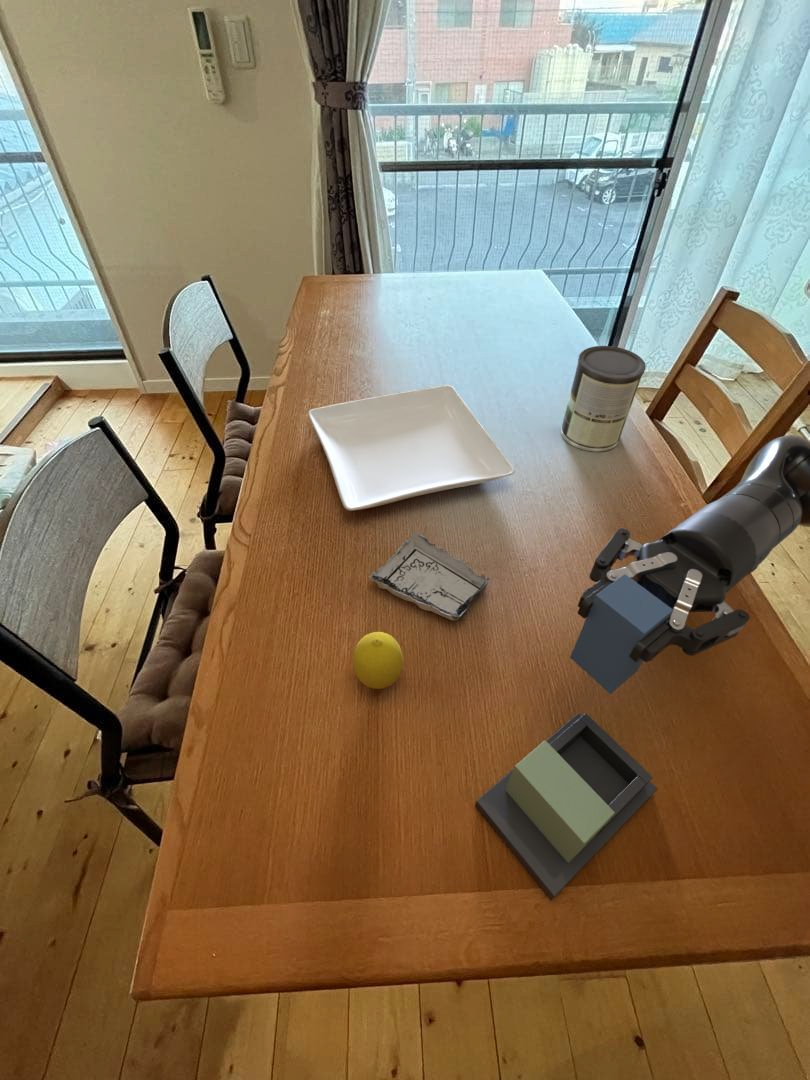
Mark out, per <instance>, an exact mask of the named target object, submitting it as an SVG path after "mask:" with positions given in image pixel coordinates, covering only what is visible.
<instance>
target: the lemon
mask: <svg viewBox="0 0 810 1080" xmlns="http://www.w3.org/2000/svg"><path fill="white" fill-rule="evenodd" d="M352 655H353V656H352V665H353V666H352V667H353V671H354V673H355V675H356V678H357V679H358V680H359V681H360V683H362V684H363V685H364V686H365V687H368V688H370V689H374V690H383V689H385V688H388V687H390V686H392V685H393V684H395V682H396V681H397V680H398V679H399V677H400V676H401V673H402V671H403V666H404V655H403V651H402V648H401V646H400V644H399V643H398V641H397V640H396V638H395V637H393V636H392V635H391V634H389V633H387V632H382V631H373V632H370V633H367V634H365V635H364V636H363V637H361V638H360V640H359V641H358V642H357V644H356V646H355V647H354V650H353V654H352Z"/></svg>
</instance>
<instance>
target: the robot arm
mask: <svg viewBox="0 0 810 1080" xmlns="http://www.w3.org/2000/svg"><path fill="white" fill-rule="evenodd" d="M798 526H800V527H804V528H810V440H808V439H806V438H805V437H802V436H799V435H783V436H778V437H776V438H773V439H771V440H770V441H769V442H767V443H766V444H764V445H763V446H762V447H761V448H760V449H759V450H758V451H757V452H756V453H755V454H754V456H753V457H752V458H751V460H750V462H749V463H748V465H747V466H746V469H745V470H744V473H743V475H742V476H741V479H740V481H739V482H738V483H737V485H736V486H734V487H733V488H731V490H730V491H728V492H726V493H725V494H724V495H722V496H721V497H720V498H718V499H717V500H714V501H712V502H710V503H707V504H706V505H704V506H703V507H702V508H700V509H699V510H697V511H696V512H694V513H693V514H692V515H690V516H689V517H688V518H687V519H685V520H684V521H681V523H679V524H678V525H677V526H675V527H674V528H673V529H671V530H669V531H668V532H666V533H665V534H664V535H663V536H662V537H660V538H659V539H658V540H656V541H651V542H646V543H644V544H643V543H640V542H638V541H635V540H633V538H632V539H631V538H630V537H631V532H630V530H629V529H626V528H623V527H622V528H618V529H617V530H616V531H615V533H614V535H613V536H612V537H611V539H610V540H609V541H608V542H607V543H606V545H605V546H604V547H603V548H602V550H601V551H600V553H599V554H598V555H597V556H596V558H595V560H594V563H593V565H592V568H591V570H590V573H589V579H590V580H591V581H592V582H594V584H593V585H591V586H590V587H589V588H587V589H586V590H584V591H583V592H582V594H581V595H580V596H581V597H580V599H579V601H578V603H577V607H578V611H577V615H578V616H580V617H581V618H582V619H583V620H584V619H585V620H586V618H587V616H588V614H589V611H590V609H591V607H592V604H593V601H594V598H595V596H596V595H597V594H598V593H599V592H601V591H602V590H604V589H605V588H606V587H608V586H609V585H610V584H612V583H613V582H614V581H616V580H617V579H618V578H620V577H621V576H623V575H624V574H626V575H627V576H628V577H630V578H631V579H632V580H634V581H635V582H636V583H638V584H639V585H640V586H642V587H643V588H644V589H646V590H647V591H648V592H650V593H651V594H653V595H654V596H655V597H657V598H658V599H659V600H661V601H662V602H663V603H665V604H666V605H667V606H669V607H670V608H671V609H673V612H672V613H671V615H670V617H669V618H668V620H667V622H666V623H664V622H662V623H661V624H660V625H659V626H658V627H656V628H655V629H654V630H653V631H652V632H650V633H649V634H648V635H647V636H646V637H644V638H643V639H642V640H640V641H639V642H638V643H637V644H636V645H635V647H634V648H633V650H632V652H631V654H630V655H629V657H630V658H631V659H632V660H633V661H635V662H638V661H639V660H640V659H642V660H643V662H644V663H648V662H651V661H652V660H653V659H655V658H656V657H657V656H658V655H659V654H660V653H662V652H663V651H664V650H665V649H667V647H669V646H675V647H676V646H677V647H678V648H681V651H682V652H683V653H684V654H685V655H687V656H689V657H693V656H696V655H698V654H700V653H702V652H705V651H707V650H709V649H711V648H712V647H715V646H717V645H720V644H722V643H725V642H726V641H728V640H731V639H733V638H735V637H737V636H738V634H739V633H740V632H741V631H742V629H743V628H744V627H745V626H746V625H747V623H748V622H749V620H750V618H751V616H750V614H749V613H748V612H747V611H746V610H743V609H733V608H732V606H730V605H729V604H728V603H727V602H726V601H725V599H726V594H727V593H728V592H730V591H731V590H732V589H733V588H734V587H735V586H736V585H738V584H739V583H740V582H741V581H742V580H743V579H745V578H746V577H747V576H749V575H750V574H752V573H753V572H755V571H756V570H757V569H758V567H759V565H760V564H762V563H763V562H764V561H765V560H766V559H767V557H768V556H769V555H770V553H771V552H772V551H773V550H774V549H775V548H776V547H777V546H778V545H780V544H781V543H782V542H783V541H784V540H785V539H786V538H788V537H789V536H790V535H791V534H792V533H793V532H794V531H795V530H796V529H797V528H798ZM633 556H634V557H636V561H632V562H630V563H628V565H627V566H625V567H621V568H616V569H613V570H612V567H613V566H614V565H615V563H616V562H617V561H623V560H624V559H627V558H630V557H633ZM689 613H713V614H714V615H713V617H712V618H711V620H710V621H708V622H706V623H704V624H702V625H699V626H697V627H694V628H691V627H689V626H687V625H686V622H687V620H688V616H689Z"/></svg>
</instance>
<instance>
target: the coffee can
mask: <svg viewBox="0 0 810 1080" xmlns="http://www.w3.org/2000/svg"><path fill="white" fill-rule="evenodd" d="M646 368H647V366H646V362H645V361H644V359H643V358H642V357H641V356H639V355H638V354H636V353H635V352H633V351H631V350H628V349H625V348H622V347H618V346H612V345H596V346H590V347H587V348H585V349H583V350H582V351H580V353H579V354H578V358H577V365H576V370H575V373H574V376H573V381H572V385H571V389H570V393H569V397H568V400H567V405H566V409H565V413H564V417H563V421H562V424H561V427H560V434H561V437H562V439H564V440H565V442H567V443H568V444H570V446H572V447H575V448H577V449H579V450H583V451H586V452H587V451H588V452H592V453H593V452H596V453H598V452H607V451H610V450H612V449H614V448H615V447H617V446H618V445H619V444H620V440H621V436H622V433H623V430H624V428H625V424H626V422H627V419H628V416H629V413H630V411H631V408H632V404H633V402H634V399H635V396H636V393H637V391H638V388H639V385H640V383H641V380H642V377H643V375H644V373H645V372H646Z"/></svg>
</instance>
